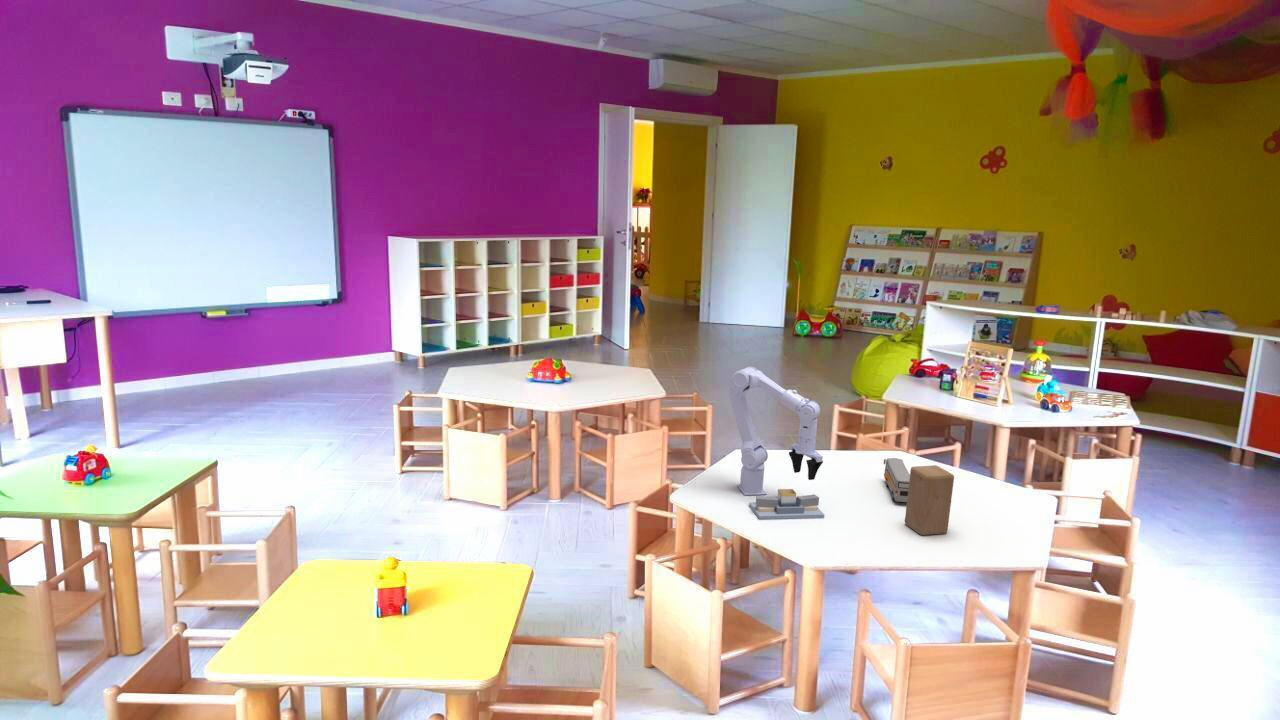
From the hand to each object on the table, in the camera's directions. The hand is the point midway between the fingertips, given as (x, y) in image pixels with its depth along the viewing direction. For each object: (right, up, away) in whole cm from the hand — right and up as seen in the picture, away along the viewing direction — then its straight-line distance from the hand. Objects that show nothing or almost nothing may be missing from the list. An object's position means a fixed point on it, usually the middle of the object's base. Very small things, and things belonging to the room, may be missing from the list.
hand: (804, 475), depth 287 cm
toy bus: (+36, -9, +15) cm, 40 cm away
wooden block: (+36, -15, -16) cm, 42 cm away
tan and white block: (-7, -10, -6) cm, 14 cm away
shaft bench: (-7, -11, -6) cm, 15 cm away
